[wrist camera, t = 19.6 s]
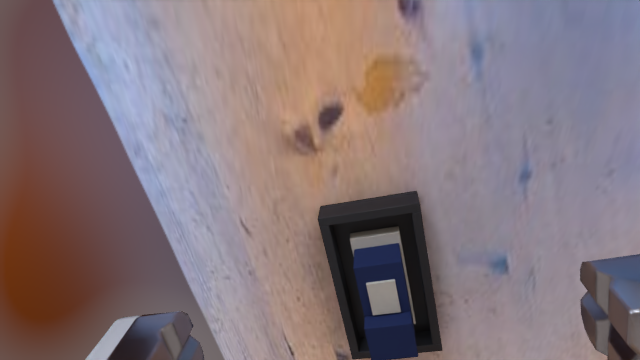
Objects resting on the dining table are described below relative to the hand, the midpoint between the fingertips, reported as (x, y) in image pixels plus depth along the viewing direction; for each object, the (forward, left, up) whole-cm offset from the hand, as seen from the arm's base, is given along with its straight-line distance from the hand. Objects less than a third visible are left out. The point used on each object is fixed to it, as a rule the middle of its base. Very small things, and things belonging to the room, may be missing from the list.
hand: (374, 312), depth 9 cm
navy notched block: (+2, +18, -29) cm, 34 cm away
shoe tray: (+2, +18, -29) cm, 34 cm away
